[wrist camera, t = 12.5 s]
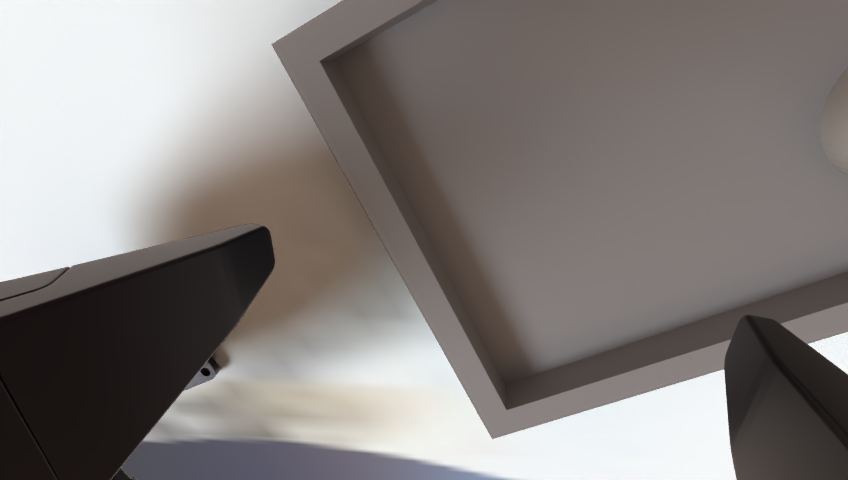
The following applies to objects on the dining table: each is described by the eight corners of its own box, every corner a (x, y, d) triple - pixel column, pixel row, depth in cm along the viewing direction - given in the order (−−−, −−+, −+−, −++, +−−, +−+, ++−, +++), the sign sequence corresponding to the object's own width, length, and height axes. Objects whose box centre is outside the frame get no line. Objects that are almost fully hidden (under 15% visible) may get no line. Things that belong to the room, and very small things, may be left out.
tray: (491, 400, 24) (492, 439, 21) (297, 45, 19) (271, 44, 16) (1112, 199, 17) (1209, 222, 15) (1067, -417, 12) (1202, -525, 10)
